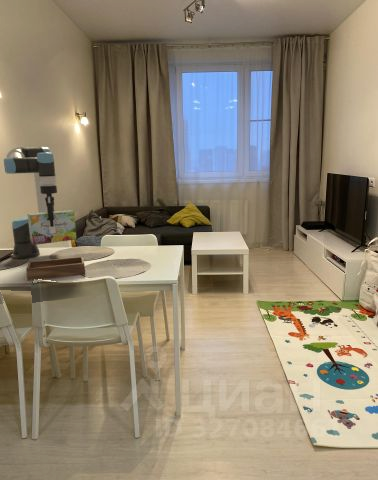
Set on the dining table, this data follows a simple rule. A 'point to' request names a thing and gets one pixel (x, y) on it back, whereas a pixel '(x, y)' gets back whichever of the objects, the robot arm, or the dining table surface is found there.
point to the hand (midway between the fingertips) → (53, 231)
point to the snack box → (41, 227)
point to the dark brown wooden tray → (55, 268)
